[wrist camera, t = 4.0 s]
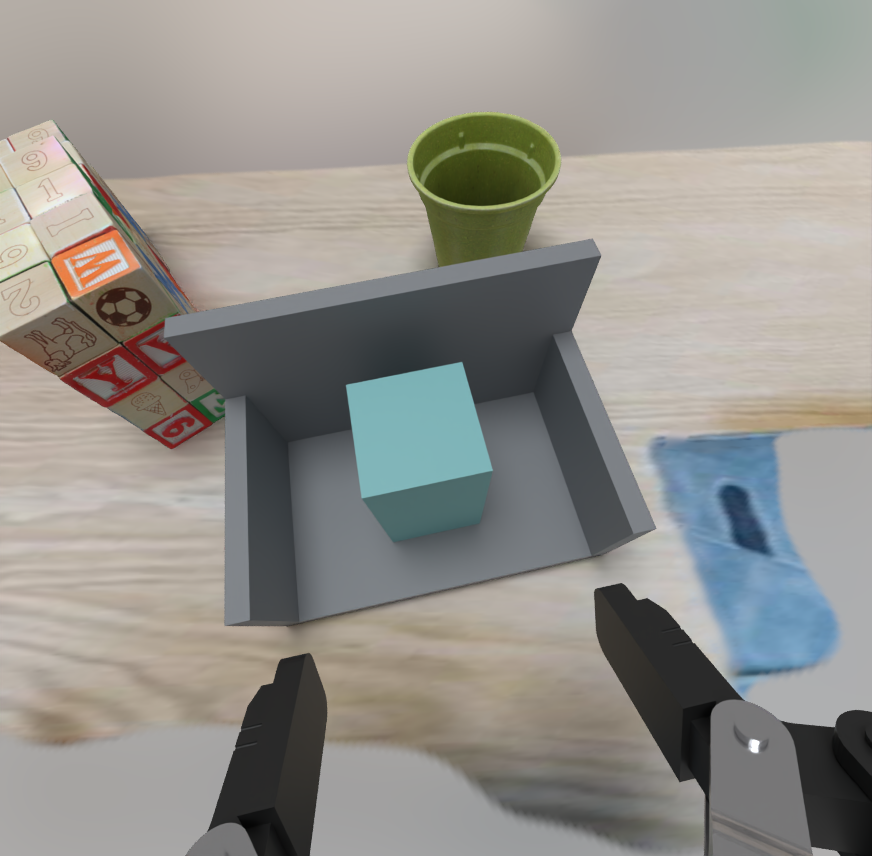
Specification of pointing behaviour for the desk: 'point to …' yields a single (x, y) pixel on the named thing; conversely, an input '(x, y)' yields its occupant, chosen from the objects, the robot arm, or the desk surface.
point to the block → (420, 451)
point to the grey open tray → (334, 445)
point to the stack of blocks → (92, 291)
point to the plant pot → (482, 182)
